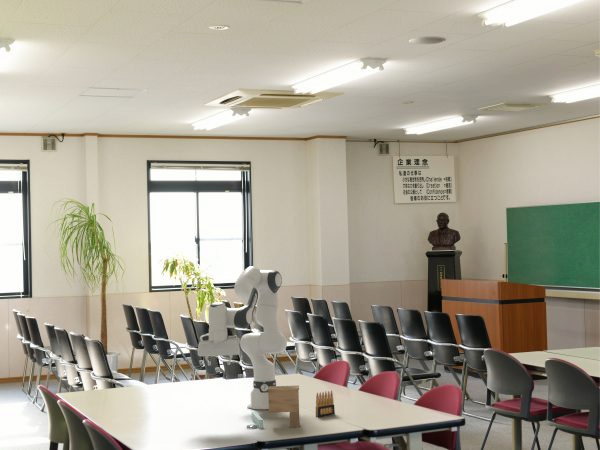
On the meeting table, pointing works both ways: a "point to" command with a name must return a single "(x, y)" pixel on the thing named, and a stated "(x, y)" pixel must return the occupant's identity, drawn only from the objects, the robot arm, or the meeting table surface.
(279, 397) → the wooden l-shaped block
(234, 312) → the robot arm
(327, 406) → the ammunition clip
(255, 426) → the token
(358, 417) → the meeting table surface
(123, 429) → the meeting table surface
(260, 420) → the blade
